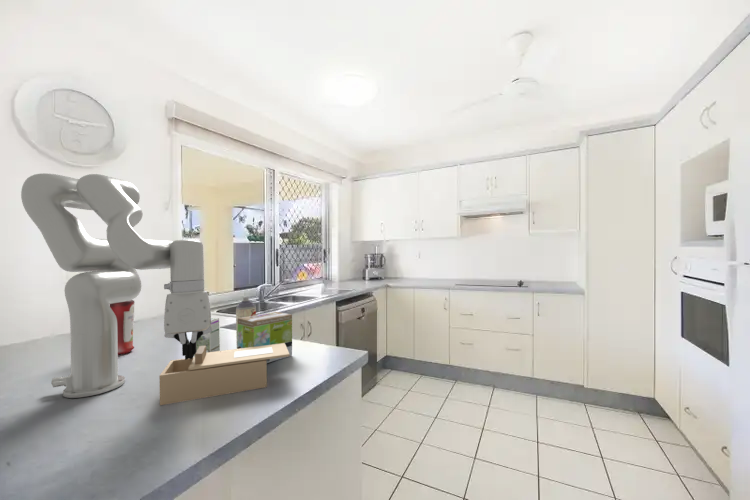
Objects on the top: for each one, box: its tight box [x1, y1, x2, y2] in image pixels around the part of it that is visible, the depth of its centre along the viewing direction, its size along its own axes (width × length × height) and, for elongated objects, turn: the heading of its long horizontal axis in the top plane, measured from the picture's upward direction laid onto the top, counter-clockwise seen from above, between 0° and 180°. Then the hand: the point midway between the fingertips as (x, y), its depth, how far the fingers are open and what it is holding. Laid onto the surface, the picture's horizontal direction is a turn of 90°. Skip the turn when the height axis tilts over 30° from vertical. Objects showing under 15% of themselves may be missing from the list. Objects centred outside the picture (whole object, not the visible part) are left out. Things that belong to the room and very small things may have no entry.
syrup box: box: [194, 317, 221, 356], centre depth 104 cm, size 6×6×14 cm
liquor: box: [109, 299, 135, 356], centre depth 118 cm, size 7×7×28 cm
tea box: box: [236, 311, 293, 364], centre depth 107 cm, size 15×10×15 cm
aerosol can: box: [235, 296, 257, 340], centre depth 116 cm, size 7×7×20 cm
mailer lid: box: [188, 343, 291, 370], centre depth 87 cm, size 24×12×3 cm, turn 112°
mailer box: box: [159, 357, 268, 406], centre depth 85 cm, size 24×12×7 cm, turn 112°
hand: (189, 357), depth 82 cm, fingers closed
